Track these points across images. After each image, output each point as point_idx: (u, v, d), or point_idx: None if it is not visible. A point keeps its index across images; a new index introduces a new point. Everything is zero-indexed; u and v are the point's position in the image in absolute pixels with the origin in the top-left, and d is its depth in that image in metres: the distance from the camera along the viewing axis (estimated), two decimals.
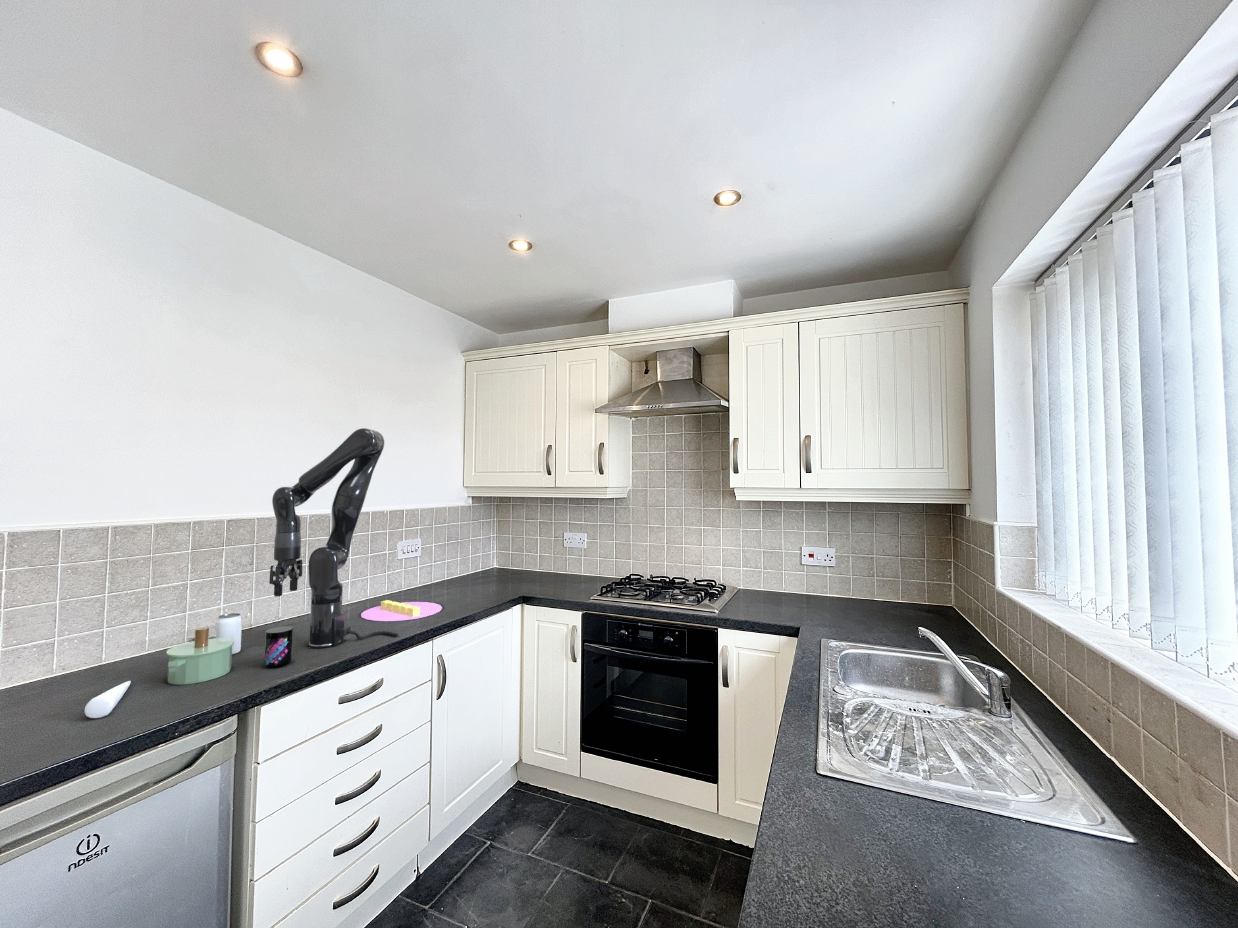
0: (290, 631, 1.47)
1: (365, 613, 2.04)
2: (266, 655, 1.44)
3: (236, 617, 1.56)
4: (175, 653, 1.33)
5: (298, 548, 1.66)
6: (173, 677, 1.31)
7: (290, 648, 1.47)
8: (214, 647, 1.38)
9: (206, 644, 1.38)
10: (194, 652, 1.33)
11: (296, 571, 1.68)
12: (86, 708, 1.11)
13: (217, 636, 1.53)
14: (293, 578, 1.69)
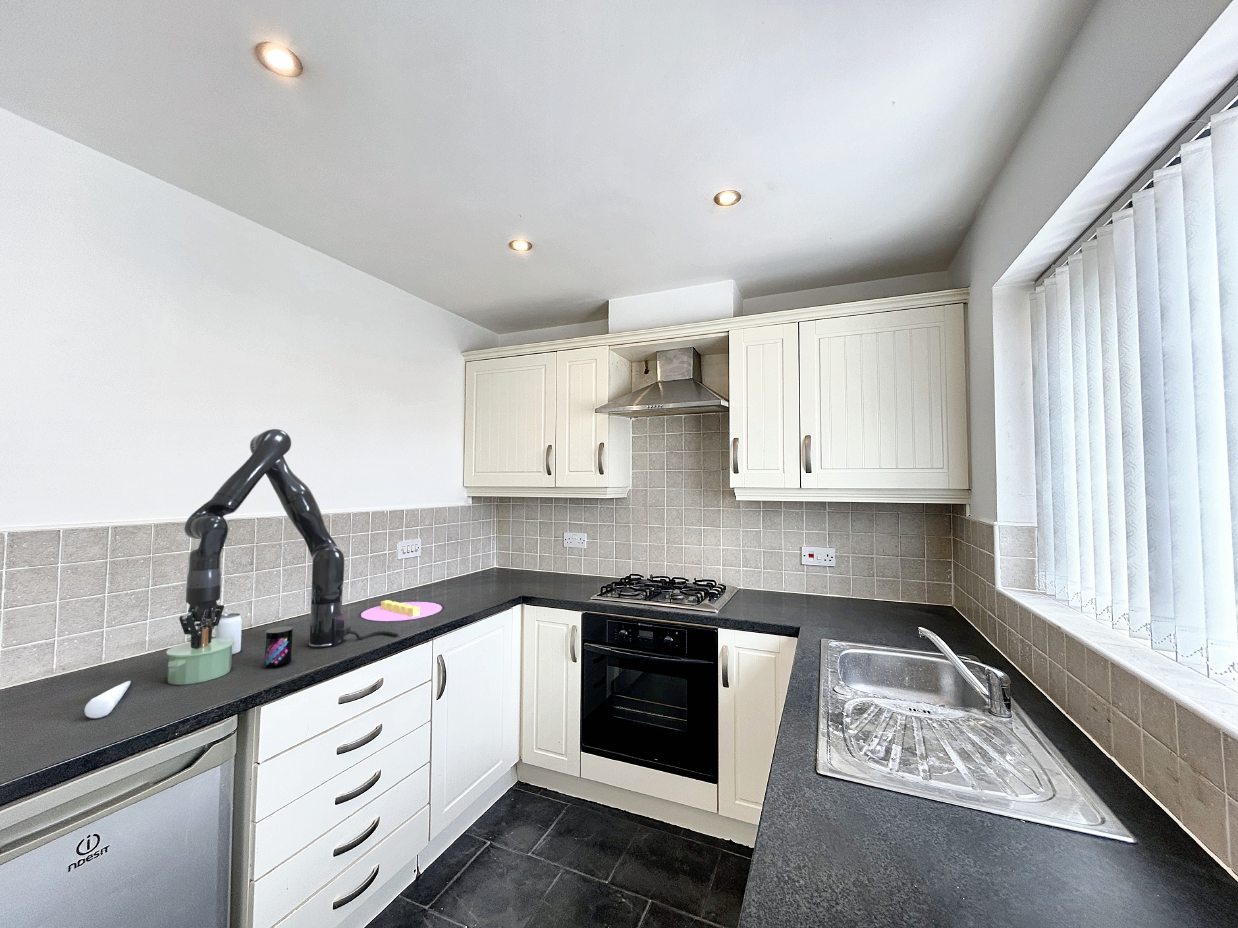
0: (290, 631, 1.47)
1: (365, 613, 2.04)
2: (266, 655, 1.44)
3: (236, 617, 1.56)
4: (175, 653, 1.33)
5: (216, 588, 1.39)
6: (173, 677, 1.31)
7: (290, 648, 1.47)
8: (214, 647, 1.38)
9: (206, 644, 1.38)
10: (194, 652, 1.33)
11: (212, 617, 1.40)
12: (86, 708, 1.11)
13: (217, 636, 1.53)
14: None
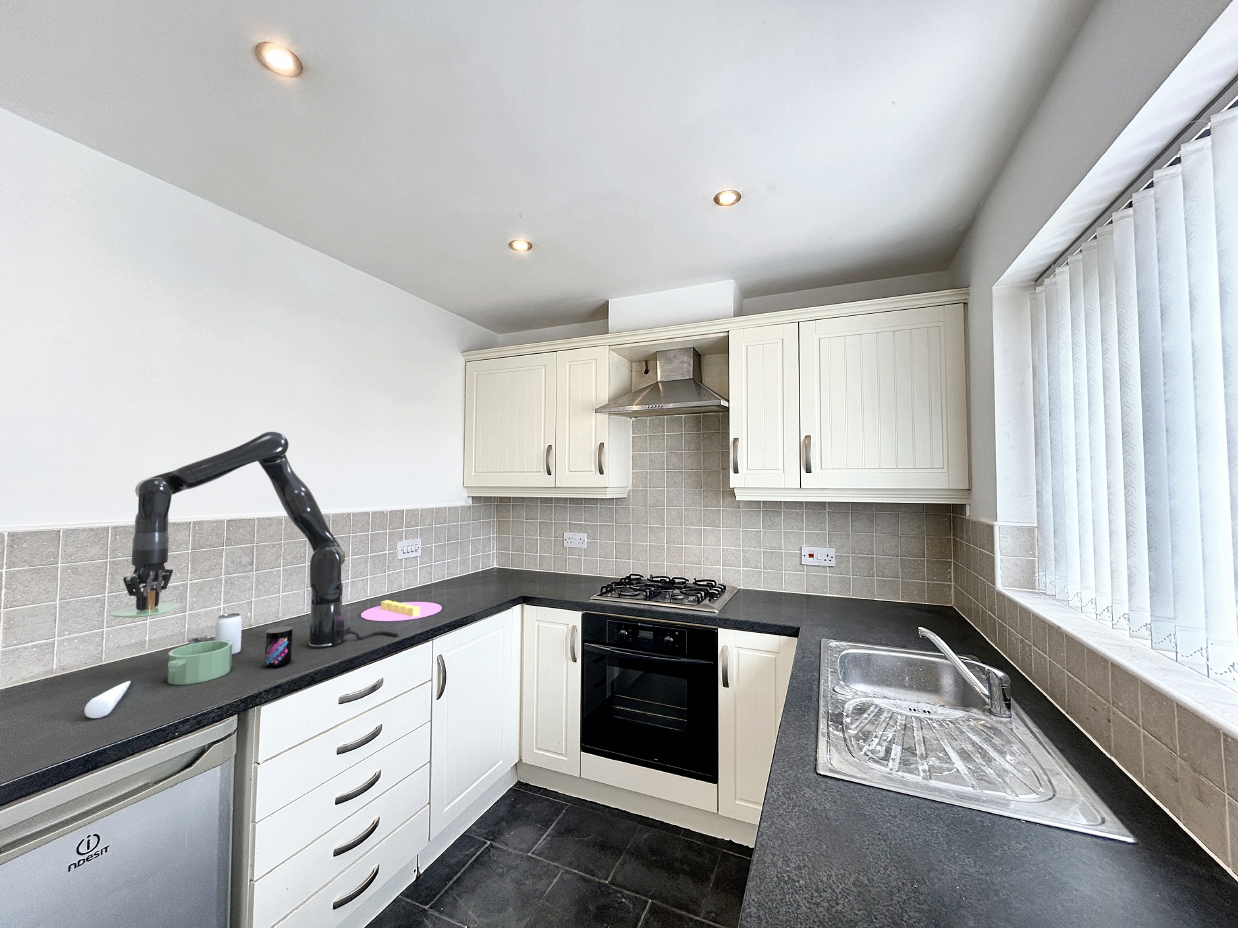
0: (290, 631, 1.47)
1: (365, 613, 2.04)
2: (266, 655, 1.44)
3: (236, 617, 1.56)
4: (119, 614, 1.33)
5: (163, 551, 1.39)
6: (173, 677, 1.31)
7: (290, 648, 1.47)
8: (160, 609, 1.38)
9: (152, 606, 1.39)
10: (138, 613, 1.34)
11: (159, 580, 1.41)
12: (86, 708, 1.11)
13: (217, 636, 1.53)
14: None
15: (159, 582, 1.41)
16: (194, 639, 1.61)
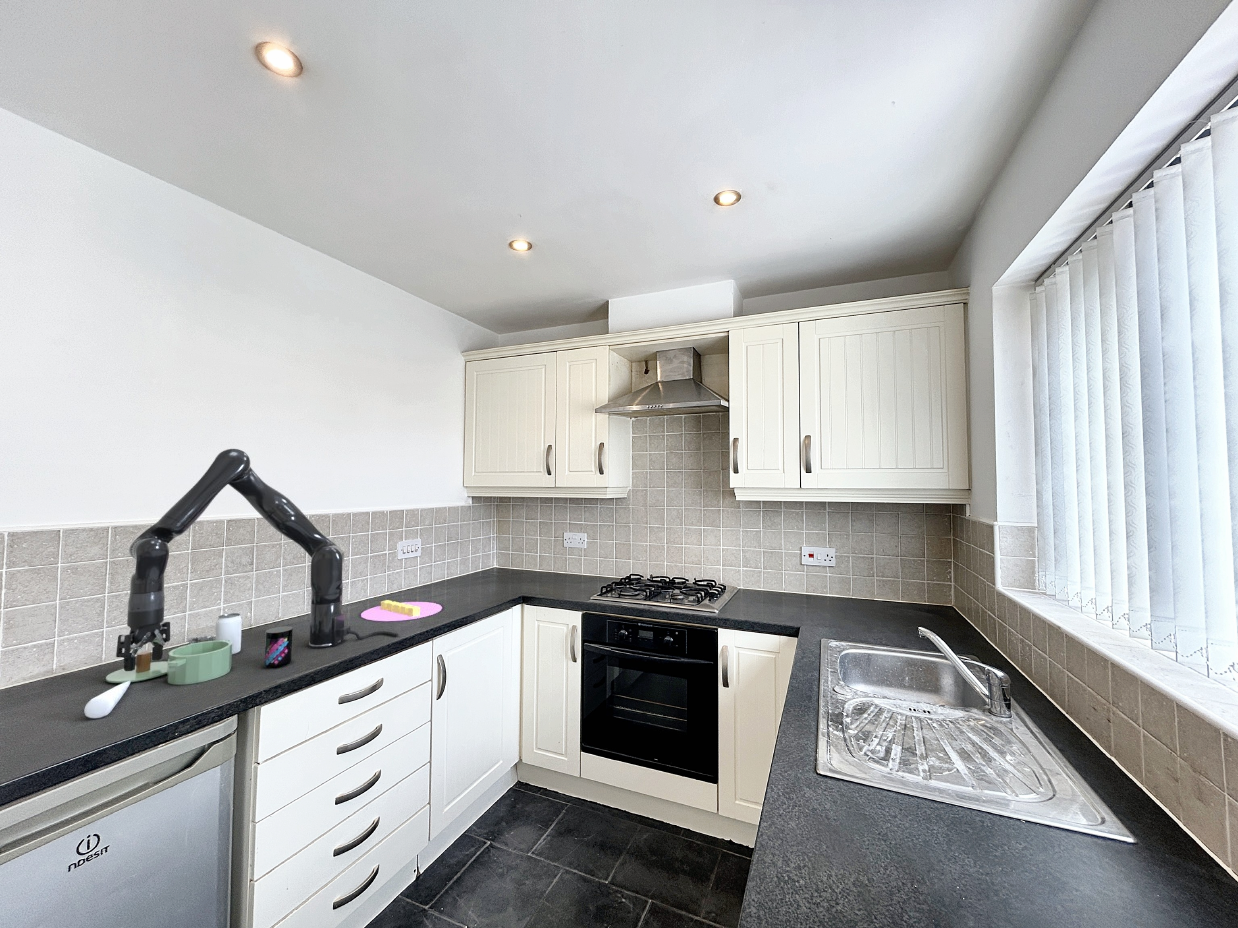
0: (290, 631, 1.47)
1: (365, 613, 2.04)
2: (266, 655, 1.44)
3: (236, 617, 1.56)
4: (114, 678, 1.32)
5: (159, 611, 1.39)
6: (173, 677, 1.31)
7: (290, 648, 1.47)
8: (155, 672, 1.37)
9: (148, 668, 1.38)
10: (134, 677, 1.33)
11: (159, 637, 1.41)
12: (86, 708, 1.11)
13: (217, 636, 1.53)
14: (156, 645, 1.42)
15: (159, 639, 1.41)
16: (194, 639, 1.61)
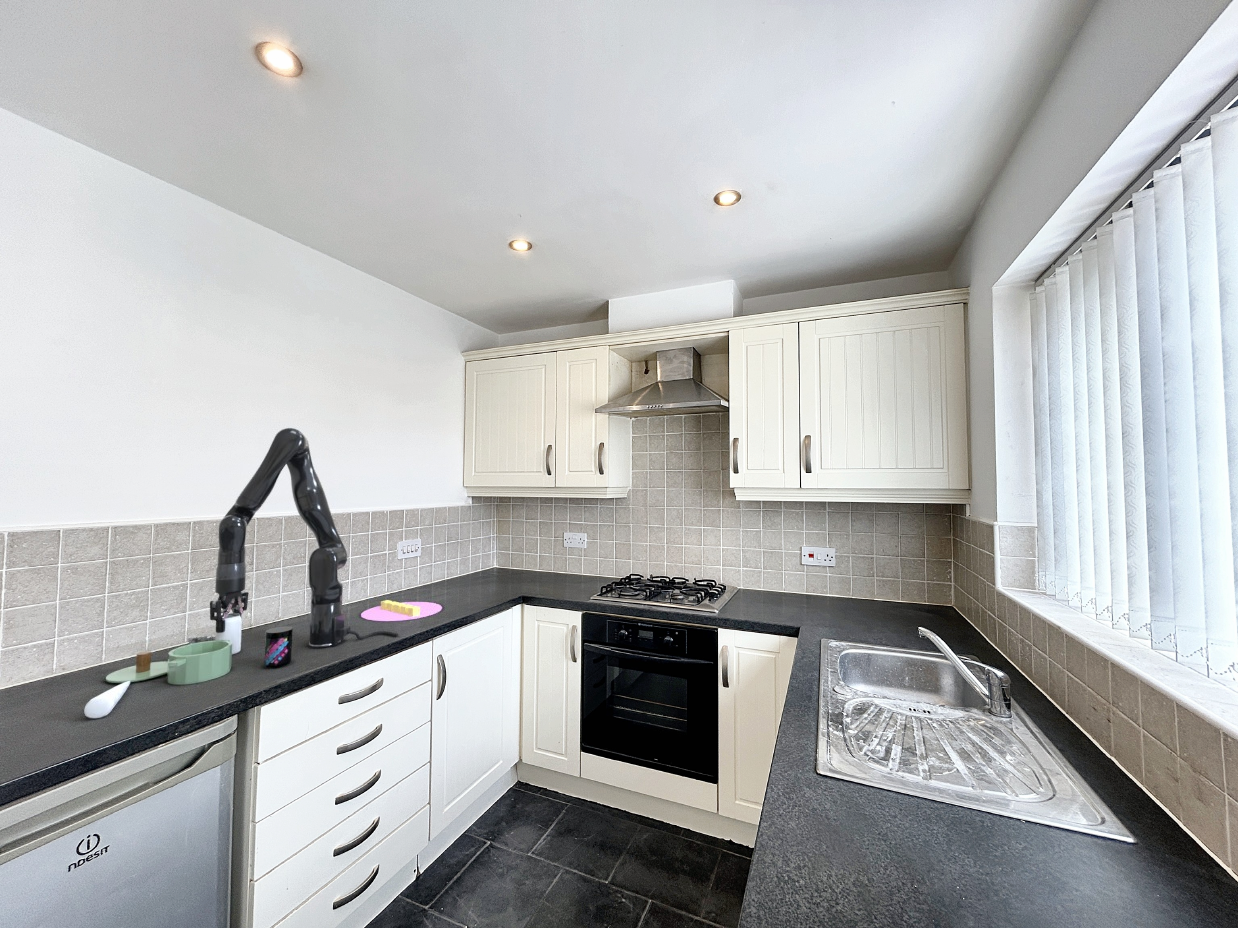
0: (290, 631, 1.47)
1: (365, 613, 2.04)
2: (266, 655, 1.44)
3: (236, 617, 1.56)
4: (114, 678, 1.32)
5: (242, 580, 1.57)
6: (173, 677, 1.31)
7: (290, 648, 1.47)
8: (155, 672, 1.37)
9: (148, 668, 1.38)
10: (134, 677, 1.33)
11: (240, 604, 1.59)
12: (86, 708, 1.11)
13: (217, 636, 1.53)
14: (236, 612, 1.60)
15: (240, 606, 1.59)
16: (194, 639, 1.61)
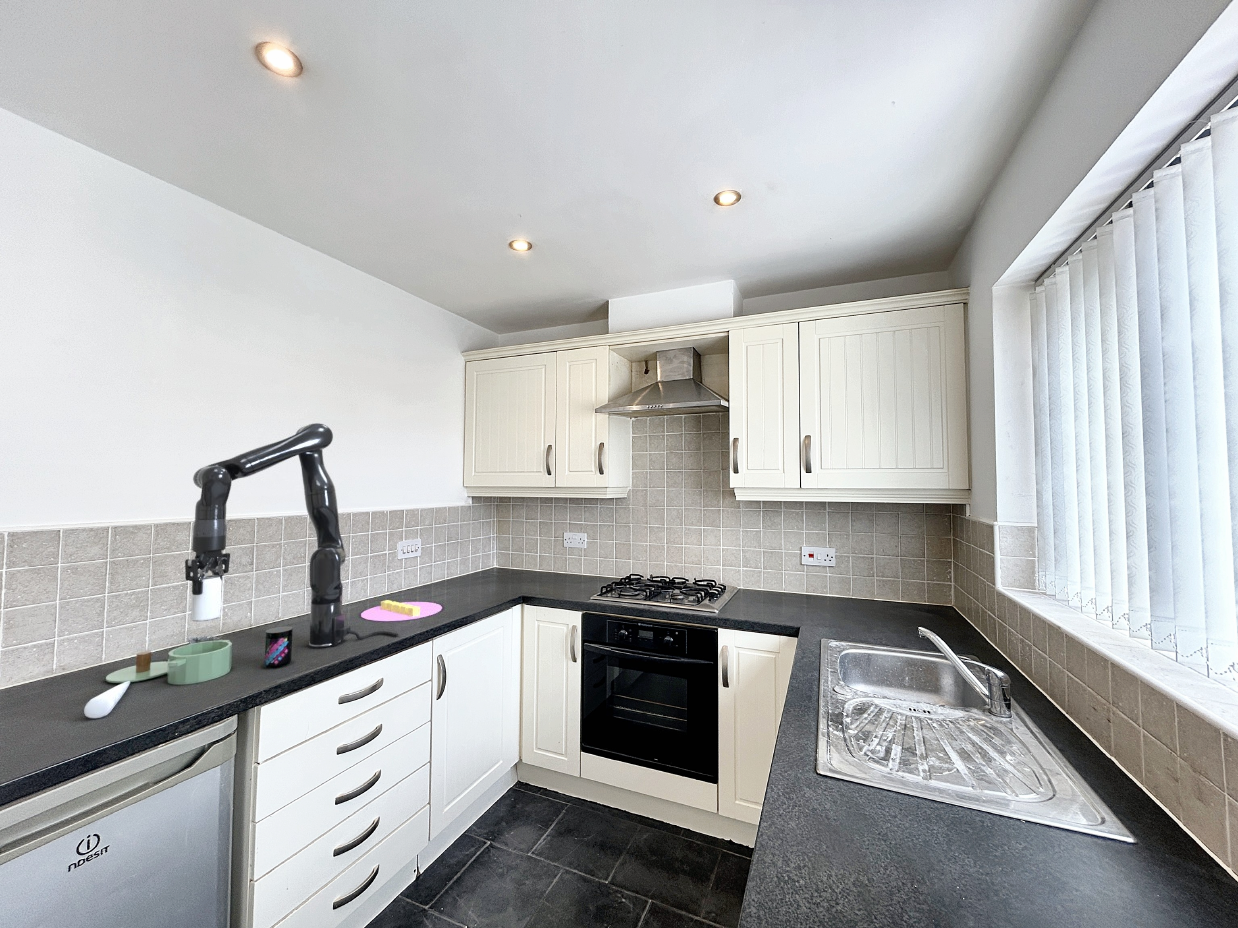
0: (290, 631, 1.47)
1: (365, 613, 2.04)
2: (266, 655, 1.44)
3: (215, 579, 1.41)
4: (114, 678, 1.32)
5: (222, 538, 1.42)
6: (173, 677, 1.31)
7: (290, 648, 1.47)
8: (155, 672, 1.37)
9: (148, 668, 1.38)
10: (134, 677, 1.33)
11: (220, 565, 1.44)
12: (86, 708, 1.11)
13: (194, 599, 1.38)
14: None
15: (220, 567, 1.44)
16: (194, 639, 1.61)
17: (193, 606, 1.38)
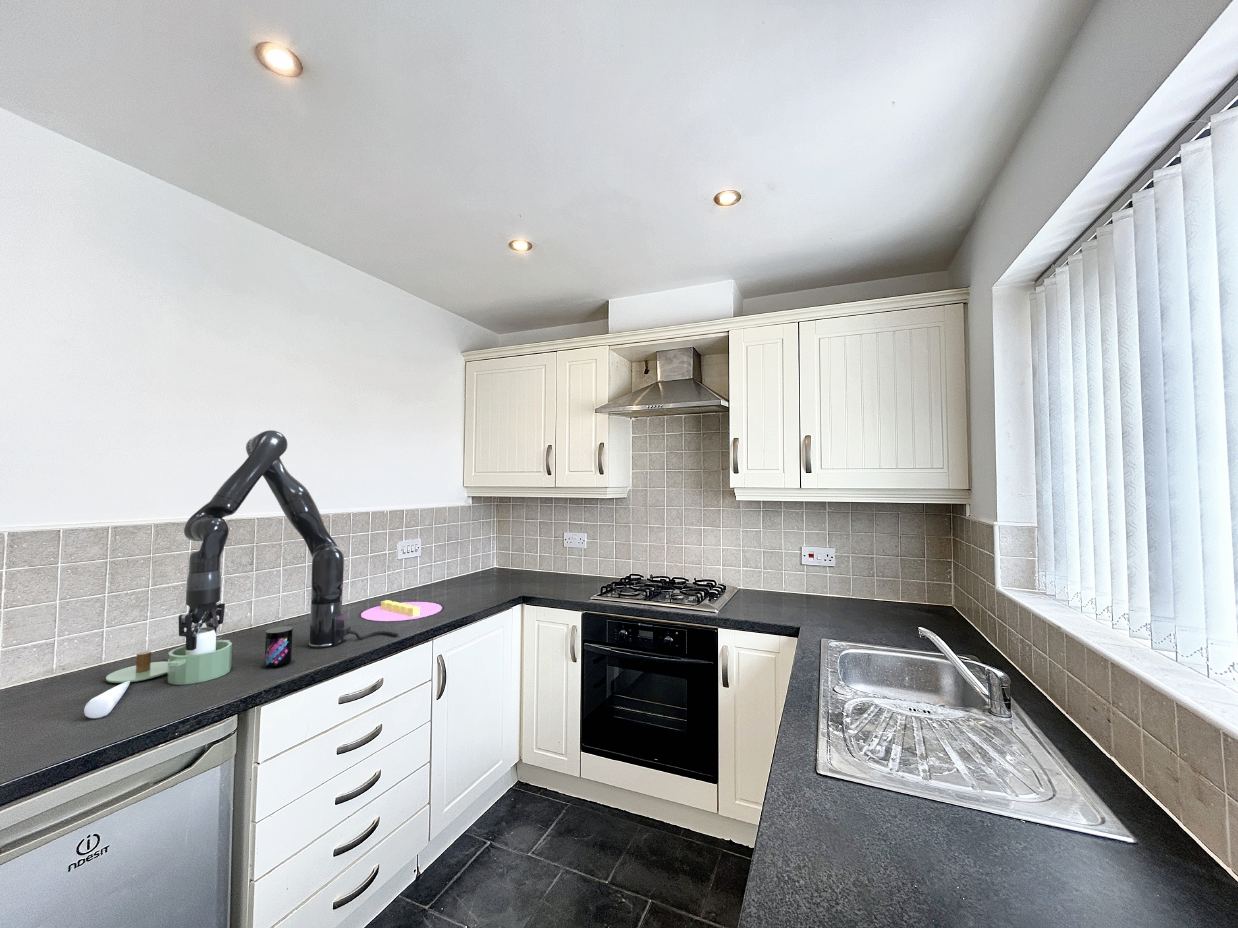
0: (290, 631, 1.47)
1: (365, 613, 2.04)
2: (266, 655, 1.44)
3: (209, 633, 1.38)
4: (114, 678, 1.32)
5: (216, 590, 1.39)
6: (173, 677, 1.31)
7: (290, 648, 1.47)
8: (155, 672, 1.37)
9: (148, 668, 1.38)
10: (134, 677, 1.33)
11: (214, 617, 1.41)
12: (85, 708, 1.11)
13: (187, 654, 1.35)
14: None
15: (215, 619, 1.41)
16: None
17: None
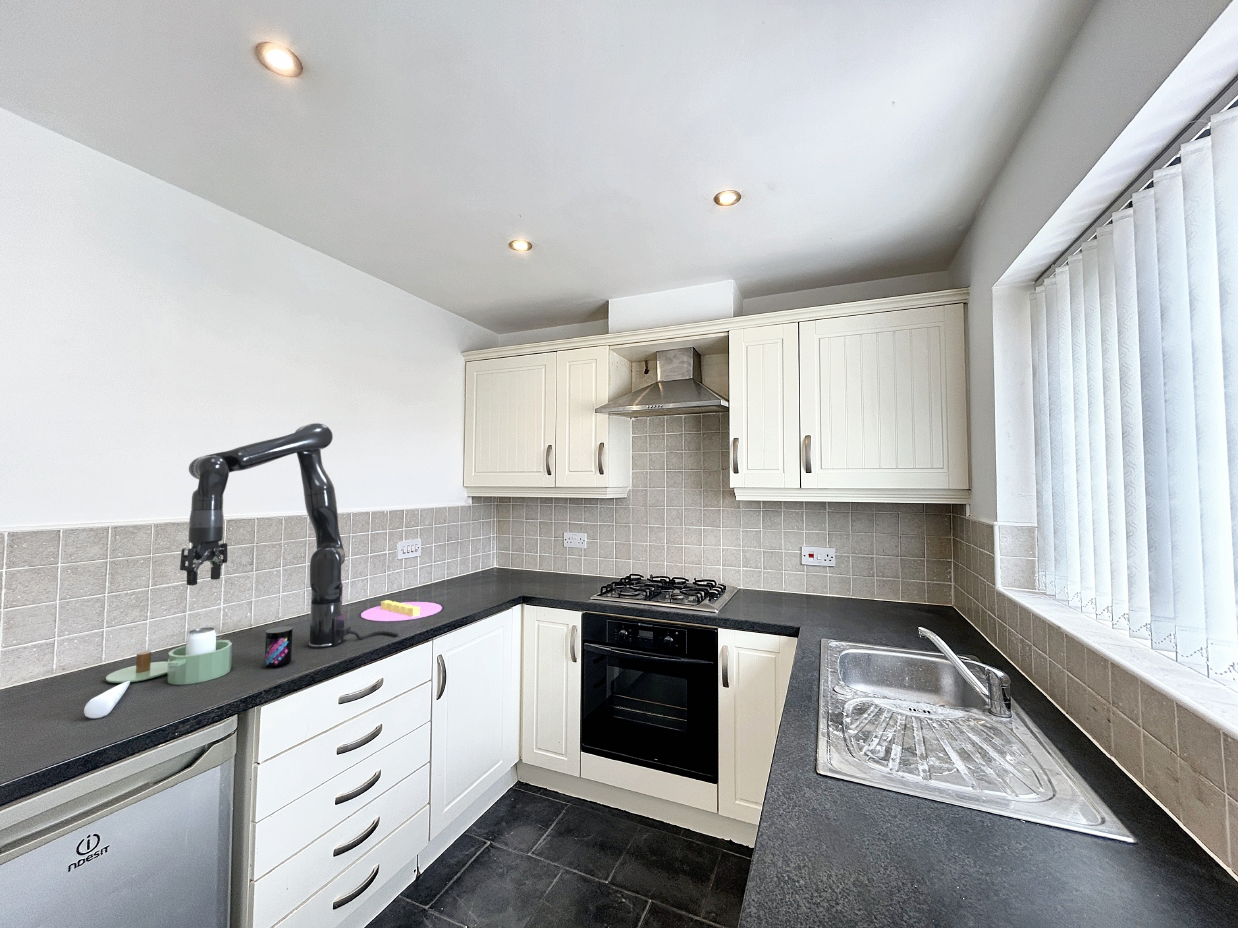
0: (290, 631, 1.47)
1: (365, 613, 2.04)
2: (266, 655, 1.44)
3: (209, 633, 1.38)
4: (114, 678, 1.32)
5: (219, 529, 1.40)
6: (173, 677, 1.31)
7: (290, 648, 1.47)
8: (155, 672, 1.37)
9: (148, 668, 1.38)
10: (134, 677, 1.33)
11: (218, 556, 1.42)
12: (85, 708, 1.11)
13: (187, 654, 1.35)
14: (215, 564, 1.44)
15: (218, 558, 1.42)
16: None
17: None
